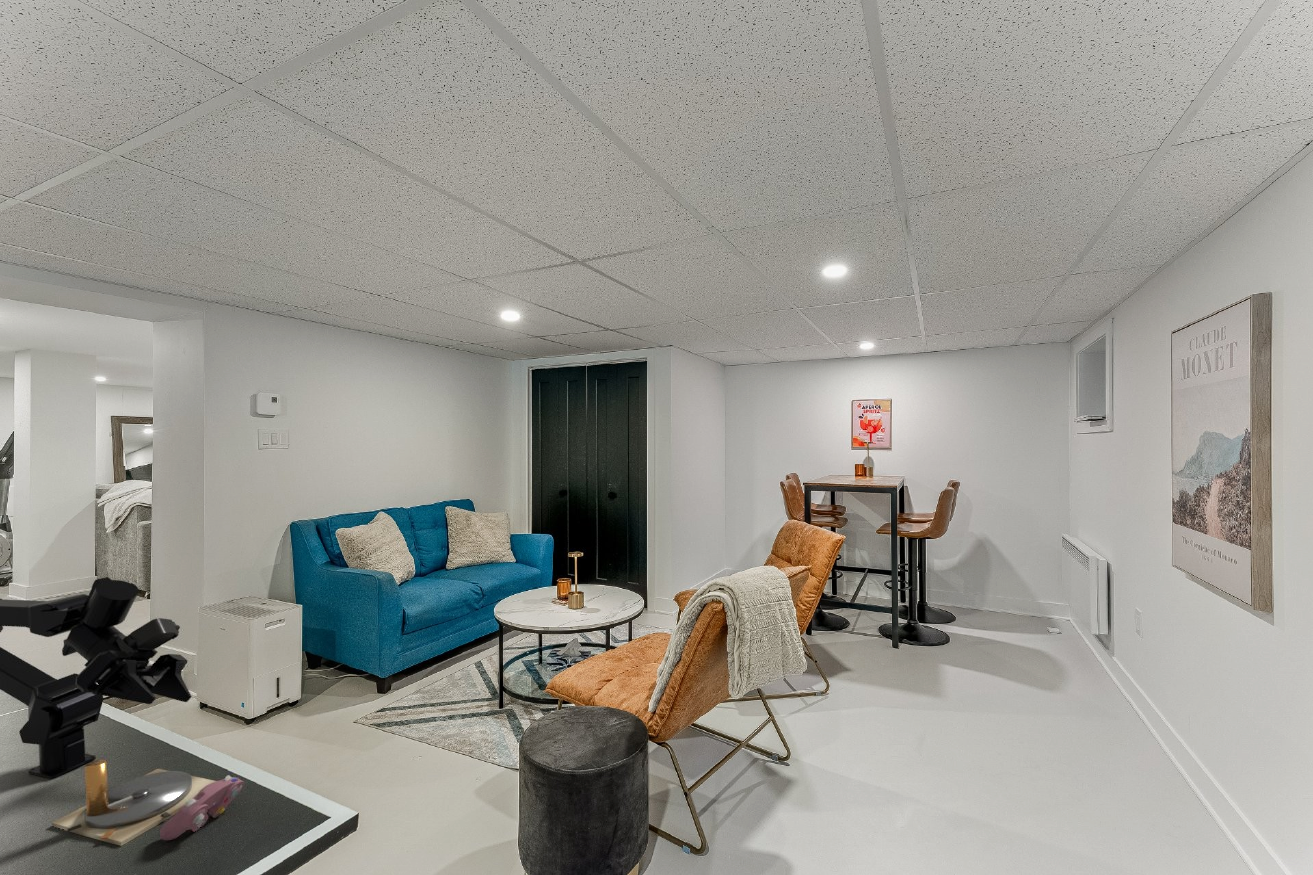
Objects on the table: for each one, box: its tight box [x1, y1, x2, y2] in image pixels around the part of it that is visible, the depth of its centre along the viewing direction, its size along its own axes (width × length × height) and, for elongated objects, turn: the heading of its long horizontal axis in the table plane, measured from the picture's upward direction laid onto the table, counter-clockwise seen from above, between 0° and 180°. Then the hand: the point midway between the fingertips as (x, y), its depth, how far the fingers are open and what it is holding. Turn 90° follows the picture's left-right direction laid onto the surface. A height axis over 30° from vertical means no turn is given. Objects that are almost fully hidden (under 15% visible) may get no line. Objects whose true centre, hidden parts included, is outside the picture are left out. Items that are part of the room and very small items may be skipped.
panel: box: [51, 768, 217, 847], centre depth 94 cm, size 16×15×1 cm
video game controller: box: [159, 774, 245, 841], centre depth 90 cm, size 10×5×7 cm, turn 169°
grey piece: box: [84, 759, 192, 828], centre depth 95 cm, size 13×13×8 cm
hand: (171, 700), depth 102 cm, fingers open, 9 cm apart
